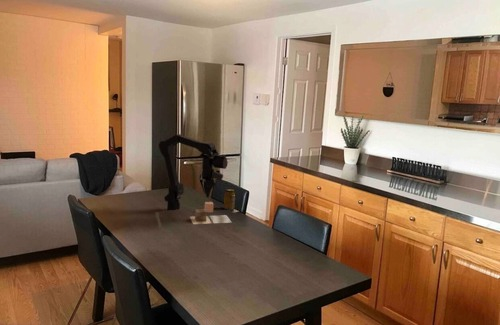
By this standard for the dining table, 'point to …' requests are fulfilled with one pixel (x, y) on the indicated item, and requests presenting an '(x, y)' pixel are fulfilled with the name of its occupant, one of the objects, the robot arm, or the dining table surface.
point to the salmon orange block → (209, 207)
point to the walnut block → (200, 215)
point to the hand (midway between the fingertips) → (206, 195)
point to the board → (214, 219)
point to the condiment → (229, 200)
